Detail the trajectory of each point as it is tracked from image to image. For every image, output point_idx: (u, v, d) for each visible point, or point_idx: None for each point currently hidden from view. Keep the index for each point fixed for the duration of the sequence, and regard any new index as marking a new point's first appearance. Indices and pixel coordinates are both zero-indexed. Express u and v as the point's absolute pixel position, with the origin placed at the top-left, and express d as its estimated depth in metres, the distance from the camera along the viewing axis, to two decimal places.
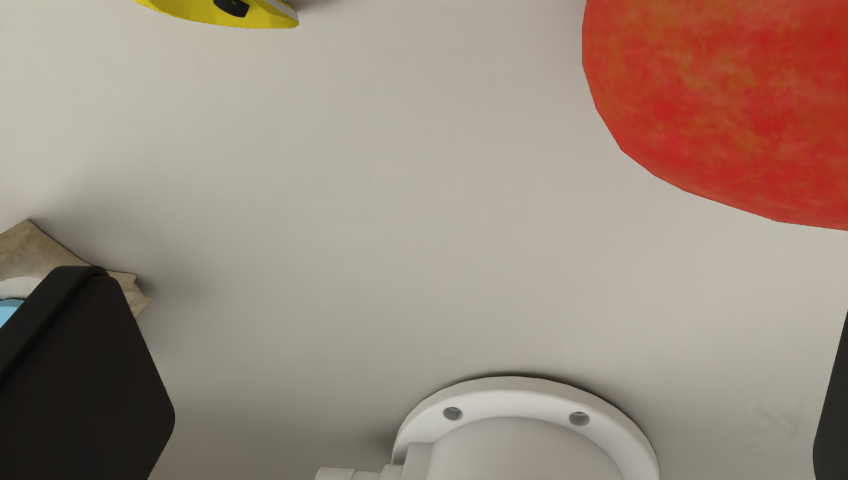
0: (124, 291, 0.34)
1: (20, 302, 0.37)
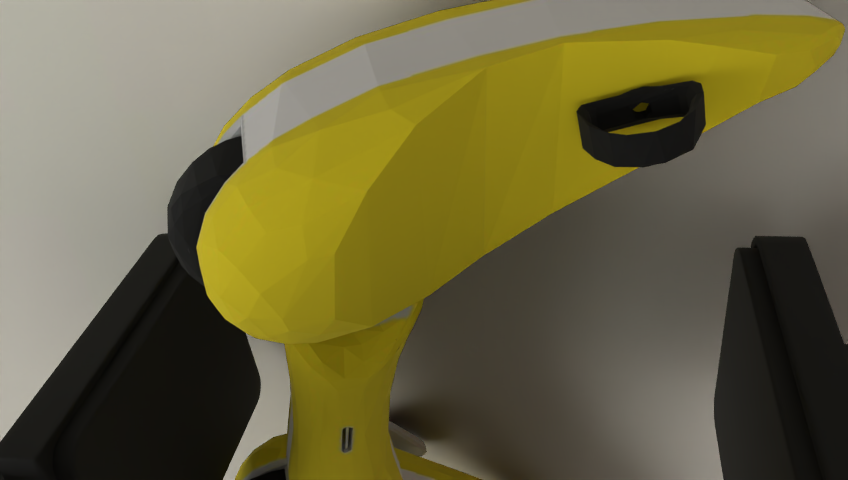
0: None
1: None
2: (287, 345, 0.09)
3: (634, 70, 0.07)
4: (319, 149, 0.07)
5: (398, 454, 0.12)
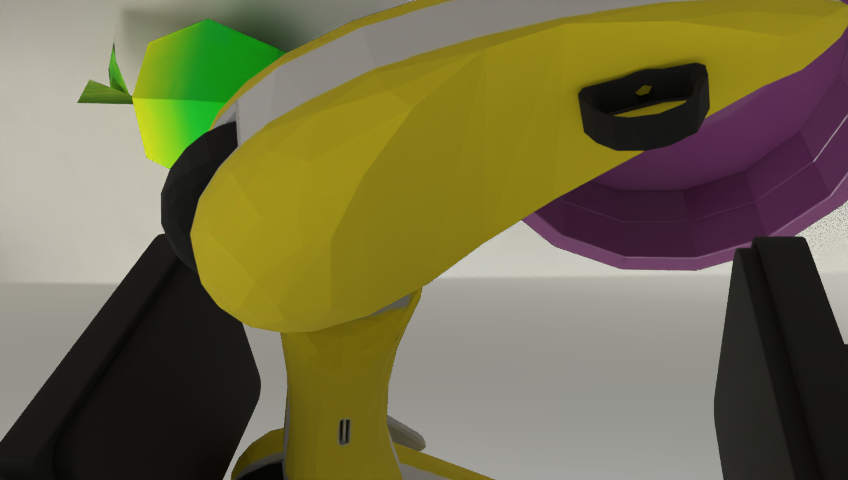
0: None
1: None
2: (283, 335, 0.08)
3: (637, 51, 0.07)
4: (315, 132, 0.06)
5: (397, 448, 0.12)
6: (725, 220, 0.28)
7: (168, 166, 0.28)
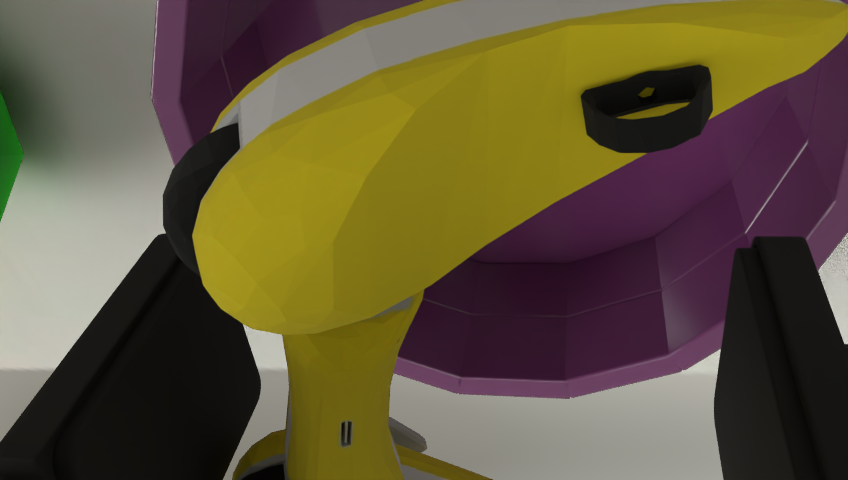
0: None
1: None
2: (285, 337, 0.08)
3: (640, 53, 0.07)
4: (317, 134, 0.06)
5: (398, 450, 0.12)
6: (615, 318, 0.19)
7: None
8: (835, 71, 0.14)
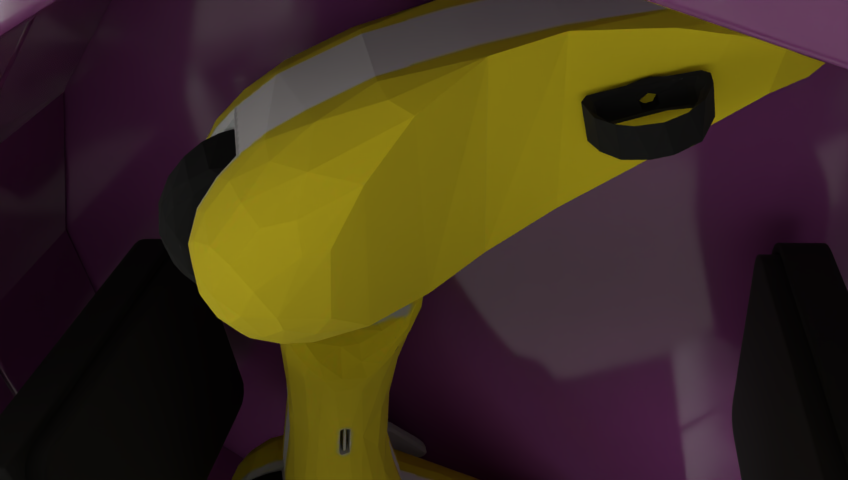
0: None
1: None
2: (283, 345, 0.08)
3: (642, 59, 0.07)
4: (314, 141, 0.06)
5: (397, 455, 0.12)
6: None
7: None
8: None
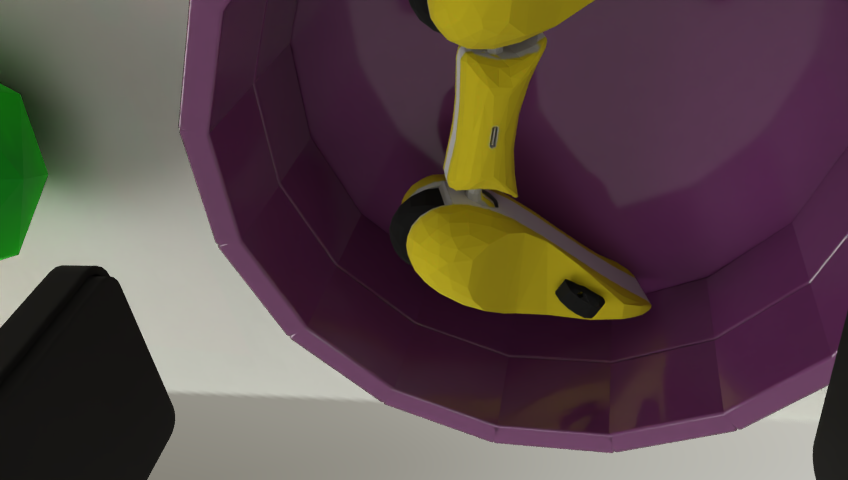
0: None
1: None
2: (464, 67, 0.14)
3: None
4: None
5: (508, 196, 0.17)
6: (664, 368, 0.17)
7: None
8: None
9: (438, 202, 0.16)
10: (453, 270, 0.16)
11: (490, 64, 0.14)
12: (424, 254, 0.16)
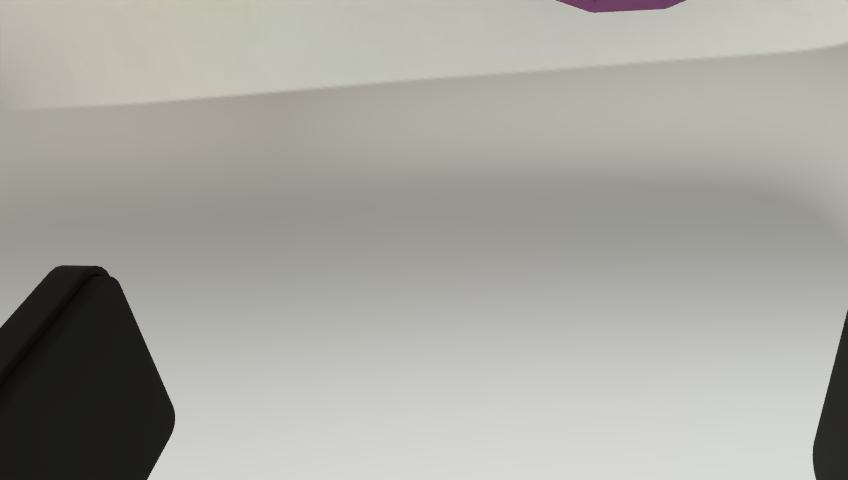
0: None
1: None
2: None
3: None
4: None
5: None
6: None
7: None
8: None
9: None
10: None
11: None
12: None
